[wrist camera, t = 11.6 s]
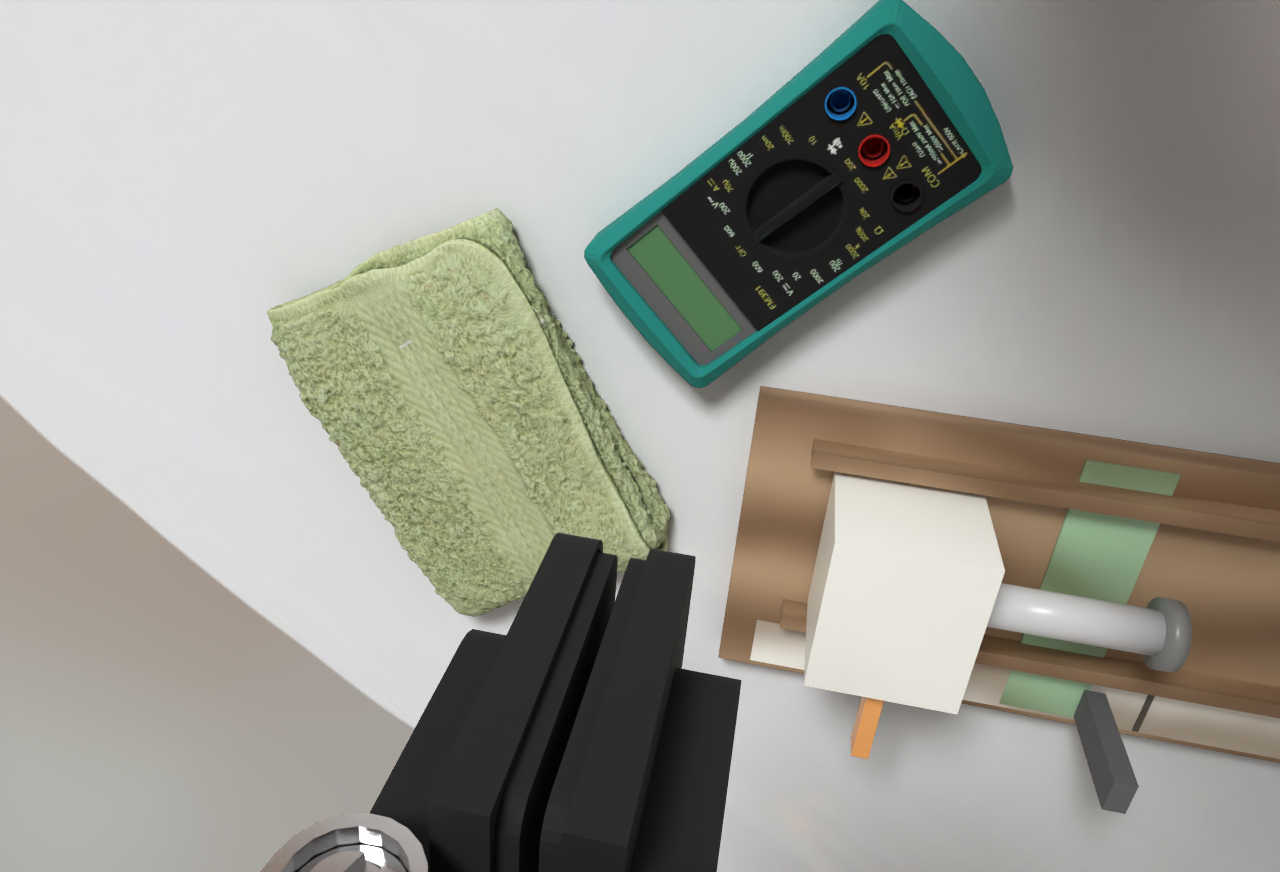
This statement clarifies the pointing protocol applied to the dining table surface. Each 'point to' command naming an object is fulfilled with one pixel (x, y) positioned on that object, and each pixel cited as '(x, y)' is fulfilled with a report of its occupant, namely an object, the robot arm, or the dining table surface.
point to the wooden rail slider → (1040, 557)
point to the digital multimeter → (804, 194)
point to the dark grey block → (1105, 752)
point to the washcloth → (467, 413)
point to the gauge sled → (940, 602)
